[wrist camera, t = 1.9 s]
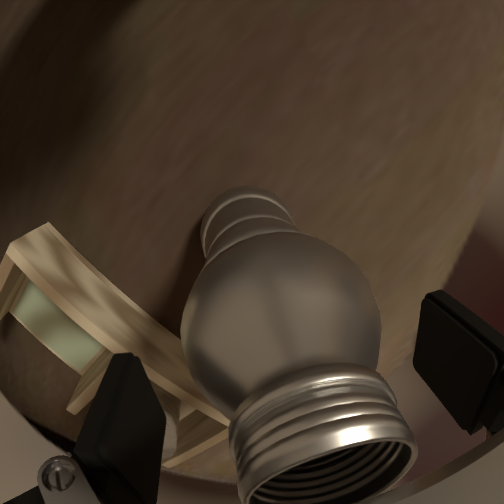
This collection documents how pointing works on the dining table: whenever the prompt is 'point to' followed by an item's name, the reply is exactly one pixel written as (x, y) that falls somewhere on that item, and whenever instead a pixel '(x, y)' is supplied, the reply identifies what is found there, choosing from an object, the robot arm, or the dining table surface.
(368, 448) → the plastic bottle
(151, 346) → the divider rack
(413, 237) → the dining table surface
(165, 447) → the grey short cylinder
